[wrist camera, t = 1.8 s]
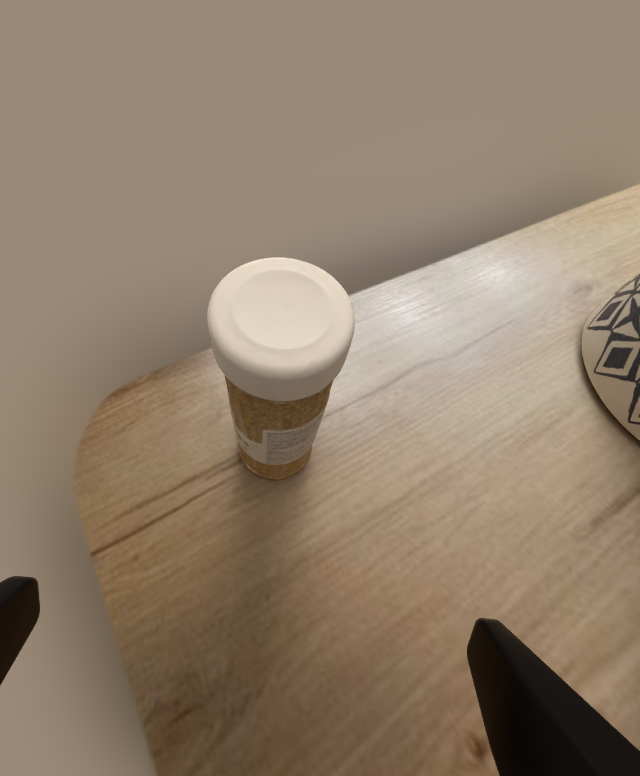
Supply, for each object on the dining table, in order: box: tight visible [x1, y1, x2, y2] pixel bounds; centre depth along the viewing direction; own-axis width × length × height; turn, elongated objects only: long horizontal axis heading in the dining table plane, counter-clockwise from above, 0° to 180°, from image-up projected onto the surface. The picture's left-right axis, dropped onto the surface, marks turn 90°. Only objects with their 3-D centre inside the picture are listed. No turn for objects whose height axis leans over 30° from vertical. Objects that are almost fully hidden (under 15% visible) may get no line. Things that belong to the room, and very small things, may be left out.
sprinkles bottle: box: [207, 257, 355, 480], centre depth 17 cm, size 5×5×14 cm
